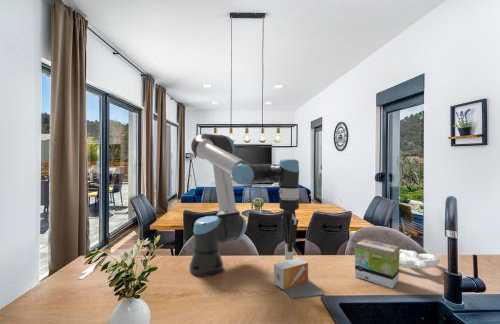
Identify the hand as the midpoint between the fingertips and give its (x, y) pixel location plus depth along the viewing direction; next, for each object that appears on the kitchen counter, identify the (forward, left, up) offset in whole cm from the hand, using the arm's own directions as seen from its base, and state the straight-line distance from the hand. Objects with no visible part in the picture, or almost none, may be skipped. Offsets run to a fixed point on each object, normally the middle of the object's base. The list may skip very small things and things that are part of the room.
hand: (288, 259), depth 101 cm
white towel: (-11, +64, -12) cm, 66 cm away
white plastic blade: (-33, -83, -12) cm, 90 cm away
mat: (0, +5, -12) cm, 12 cm away
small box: (-1, -4, -7) cm, 8 cm away
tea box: (0, +40, -12) cm, 41 cm away
